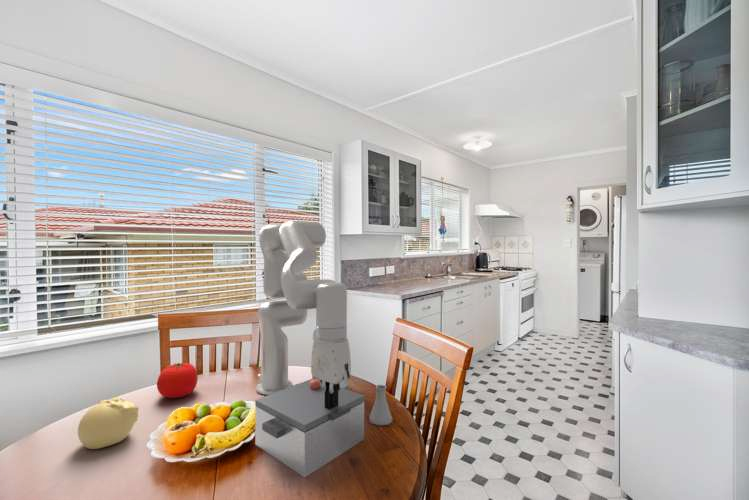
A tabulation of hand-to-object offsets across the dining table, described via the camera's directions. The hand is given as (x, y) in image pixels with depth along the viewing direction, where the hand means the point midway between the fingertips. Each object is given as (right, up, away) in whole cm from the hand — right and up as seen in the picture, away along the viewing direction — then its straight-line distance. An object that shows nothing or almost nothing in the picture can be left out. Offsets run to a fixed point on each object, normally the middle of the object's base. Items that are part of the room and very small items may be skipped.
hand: (331, 406), depth 85 cm
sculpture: (-59, -12, +5) cm, 61 cm away
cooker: (-6, -12, +5) cm, 14 cm away
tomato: (-57, -12, +33) cm, 67 cm away
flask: (+13, -12, +17) cm, 24 cm away
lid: (-6, -1, +5) cm, 7 cm away
